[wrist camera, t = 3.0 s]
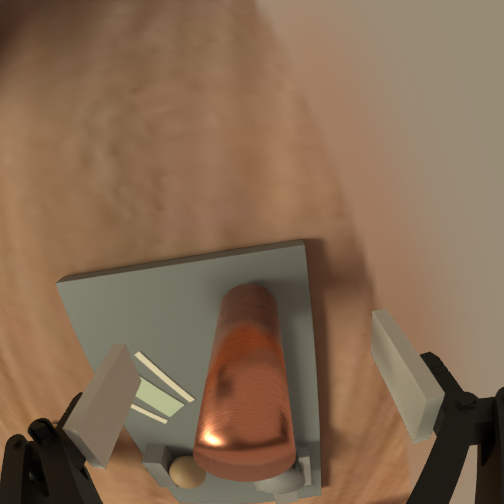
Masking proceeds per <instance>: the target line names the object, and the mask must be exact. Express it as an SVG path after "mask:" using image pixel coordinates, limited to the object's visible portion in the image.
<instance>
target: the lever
mask: <svg viewBox="0 0 504 504" xmlns="http://www.w3.org/2000/svg"><path fill="white" fill-rule="evenodd" d="M297 451H298V460H299V467H300V471H302V472H303V473H304V475H305V481H306V482H305V485H304V486H306V485H312V484H311V470H310V457H309V450H308V447H303V448H297ZM193 458H194V460H195V462H196V463H197V464H198V465H199V466H200V467H201V468H202V469H203V470H205V471H206V472H208V473H210V474H212V475H214V476H216V477H219V478H222V479H227V480H232V481H240V482H253V481H254V484H255V486H256V489H257V491H262V490H261V489H260V488H259V484H258V481H261V480H266V479H270V478H273V477H276V476H278V475H280V474H282V473H284V472H285V471H287V470H288V469H289V468H290V467H291V466H292V465H293V463H294V462H295V459H296V451H295V442H294V433H293V425H292V417H291V408H290V400H289V392H288V384H287V376H286V369H285V361H284V353H283V345H282V338H281V330H280V323H279V315H278V308H277V303H276V300H275V298H274V296H273V295H272V294H271V293H270V292H269V291H268V290H267V289H265V288H264V287H261V286H259V285H255V284H242V285H238V286H236V287H234V288H232V289H230V290H229V291H228V292H227V293H226V294H225V296H224V297H223V299H222V301H221V305H220V310H219V315H218V320H217V325H216V330H215V335H214V341H213V346H212V351H211V356H210V361H209V366H208V371H207V377H206V382H205V387H204V393H203V398H202V403H201V409H200V414H199V420H198V425H197V431H196V436H195V442H194V447H193ZM274 498H275V501H276V504H282V503H291V502H298V495H297V491H294V492H290V493H285V494H274Z"/></svg>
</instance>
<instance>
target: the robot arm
mask: <svg viewBox="0 0 504 504" xmlns="http://www.w3.org/2000/svg"><path fill="white" fill-rule="evenodd" d="M371 355H372V357H373V359H374V361H375V363H376V365H377V367H378V369H379V371H380V373H381V375H382V377H383V379H384V381H385V383H386V385H387V387H388V389H389V391H390V393H391V395H392V398H393V400H394V402H395V404H396V406H397V408H398V410H399V412H400V415H401V417H402V419H403V421H404V423H405V425H406V428H407V430H408V432H409V434H410V437H411V439H412V441H413V443H414V444H415V443H418V442H421V441H424V440H427V439H430V437H431V434H432V432H433V430H434V432H435V434H436V436H437V438H436V440H435V443H434V445H433V448H432V450H431V453H430V455H429V457H428V459H427V462H426V464H425V466H424V468H423V471H422V473H421V475H420V477H419V479H418V481H417V483H416V485H415V487H414V489H413V491H412V493H411V495H410V497H409V499H408V501H407V503H406V504H449V502H450V499H451V497H452V494H453V492H454V489H455V487H456V484H457V482H458V479H459V476H460V473H461V470H462V467H463V465H464V462H465V458H466V455H467V452H468V449H469V446H470V445H477V446H478V448H477V451H478V453H477V481H476V494H475V504H504V387H502V388H501V389H499V391H498V392H497V394H496V396H495V397H489V398H477V396H475V395H474V394H472V393H470V392H464V391H463V390H462V388H461V387H460V386H459V385H458V383H457V381H456V380H455V379H454V377H453V376H452V375H451V373H450V372H449V371H448V369H447V368H446V367H445V366H444V364H443V362H442V361H441V360H440V358H439V357H438V356H436V355H435V354H433V353H431V352H427V353H424V354H420V355H419V354H418V352H417V351H416V350H415V348H414V347H413V345H412V344H411V342H410V341H409V339H408V338H407V337H406V335H405V334H404V332H403V331H402V330H401V328H400V327H399V325H398V324H397V323H396V322H395V320H394V319H393V317H392V316H391V315H390V313H389V312H388V310H387V309H386V308H384V309H380V310H375V311H372V341H371ZM141 382H142V381H141V379H140V376H139V374H138V372H137V370H136V367H135V365H134V363H133V361H132V358H131V356H130V354H129V351H128V349H127V346H126V344H125V343H123V344H113V346H112V347H111V349H110V351H109V352H108V354H107V355H106V357H105V358H104V360H103V362H102V363H101V365H100V366H99V368H98V370H97V371H96V373H95V374H94V376H93V378H92V379H91V381H90V383H89V384H88V386H87V387H86V389H85V391H84V392H80V393H79V394H78V395H76V396H75V397H74V398H73V399H72V401H71V403H70V404H69V407H68V408H67V409H66V412H65V413H64V414H63V416H62V418H61V419H60V421H59V423H58V424H57V426H56V428H54V426H53V425H52V423H51V422H50V421H49V420H48V419H46V418H40V419H37V420H35V421H33V422H32V423H31V424H30V426H29V428H28V433H29V435H30V436H31V437H32V439H33V440H34V441H27V440H26V438H25V437H24V436H23V435H21V434H16V435H13V436H12V437H10V438H9V439H8V441H7V443H6V446H5V452H4V458H3V465H2V472H1V481H0V504H103V503H102V501H101V499H100V497H99V495H98V492H97V490H96V488H95V486H94V484H93V482H92V479H91V477H90V475H89V472H88V470H87V468H86V467H85V466H84V463H85V461H86V460H87V461H88V462H89V463H90V465H91V466H92V467H96V468H102V469H106V467H107V464H108V462H109V459H110V457H111V454H112V452H113V449H114V447H115V444H116V442H117V439H118V437H119V434H120V432H121V429H122V427H123V424H124V422H125V419H126V417H127V415H128V412H129V410H130V408H131V405H132V403H133V400H134V398H135V396H136V393H137V391H138V389H139V386H140V384H141Z"/></svg>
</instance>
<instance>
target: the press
mask: <svg viewBox="0 0 504 504" xmlns="http://www.w3.org/2000/svg"><path fill="white" fill-rule="evenodd" d="M242 284H255V285H259V286H261V287H264V288H265V289H267V290H268V291H269V292H270V293H271V294H272V295H273V296H274V298H275V300H276V303H277V308H278V315H279V323H280V330H281V338H282V345H283V353H284V361H285V369H286V376H287V384H288V392H289V400H290V408H291V417H292V425H293V433H294V442H295V451H296V459H295V462H294V463H293V465H292V466H291V467H290V468H289V469H288V470H287V471H285V472H284V473H282V474H280V475H278V476H276V477H273V478H270V479H266V480H261V481H258V484H259V488H260V489H261V490H262V491H257V489H256V486H255V484H254V481H253V482H240V481H232V480H227V479H222V478H219V477H216V476H214V475H212V474H210V473H208V472H206V471H205V470H203V469H202V468H201V467H200V466H199V465H198V464H197V463H196V462H195V460H194V458H193V447H194V442H195V436H196V431H197V425H198V420H199V414H200V409H201V403H202V398H203V393H204V387H205V382H206V377H207V371H208V366H209V361H210V356H211V351H212V346H213V341H214V335H215V330H216V325H217V320H218V315H219V310H220V305H221V301H222V299H223V297H224V296H225V294H226V293H227V292H228V291H229V290H230V289H232V288H234V287H236V286H238V285H242ZM56 286H57V288H58V291H59V294H60V297H61V299H62V302H63V304H64V307H65V309H66V312H67V314H68V317H69V319H70V322H71V324H72V326H73V329H74V331H75V333H76V336H77V338H78V340H79V342H80V344H81V347H82V349H83V351H84V353H85V355H86V357H87V359H88V361H89V363H90V365H91V367H92V369H93V371H94V373H96V371H97V370H98V368H99V366H100V365H101V363H102V362H103V360H104V358H105V357H106V355H107V354H108V352H109V351H110V349H111V347H112V346H113V344H123V343H125V344H126V346H127V349H128V351H129V354H130V356H131V358H132V361H133V363H134V365H135V367H136V370H137V372H138V374H139V376H140V379H141V381H142V382H141V384H140V386H139V389H138V391H137V393H136V396H135V398H134V400H133V403H132V405H131V408H130V410H129V412H128V415H127V417H126V419H125V422H124V424H123V425H124V426H125V428H126V430H127V431H128V433H129V434H130V436H131V437H132V439H133V441H134V442H135V444H136V445H137V447H138V448H139V450H140V451H141V453H142V454H143V459H142V464H143V465H144V466H145V468H146V469H147V470H148V472H149V473H150V474H151V476H152V477H153V478H154V480H155V481H156V482H157V483H158V485H159V486H160V487H167V488H168V489H169V491H170V492H171V493H172V494H173V496H174V497H175V498H176V499H177V500H178V502H179V503H196V504H241V503H260V502H273V501H275V498H274V494H285V493H290V492H294V491H297V495H298V499H299V498H307V497H313V496H319V495H321V454H320V427H319V406H318V388H317V372H316V358H315V345H314V333H313V321H312V310H311V299H310V289H309V280H308V270H307V261H306V252H305V244H304V242H303V240H302V239H299V240H293V241H286V242H280V243H273V244H267V245H261V246H254V247H248V248H241V249H235V250H229V251H222V252H216V253H209V254H203V255H197V256H190V257H184V258H178V259H171V260H165V261H159V262H153V263H146V264H140V265H134V266H128V267H121V268H115V269H109V270H103V271H97V272H91V273H84V274H78V275H72V276H66V277H63V278H61V279H60V280H59V281H58V282H56ZM303 447H308V450H309V457H310V470H311V484H312V485H306V486H304V485H305V482H306V481H305V475H304V473H303V472H302V471H300V467H299V460H298V451H297V448H303Z"/></svg>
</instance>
